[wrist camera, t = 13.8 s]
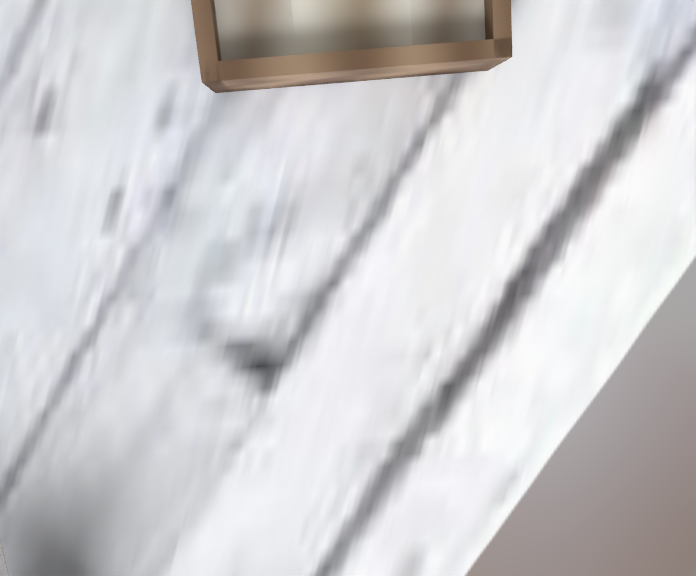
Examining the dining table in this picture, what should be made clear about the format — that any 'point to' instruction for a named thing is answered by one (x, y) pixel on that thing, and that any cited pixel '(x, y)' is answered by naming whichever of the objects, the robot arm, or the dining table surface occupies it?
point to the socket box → (345, 40)
